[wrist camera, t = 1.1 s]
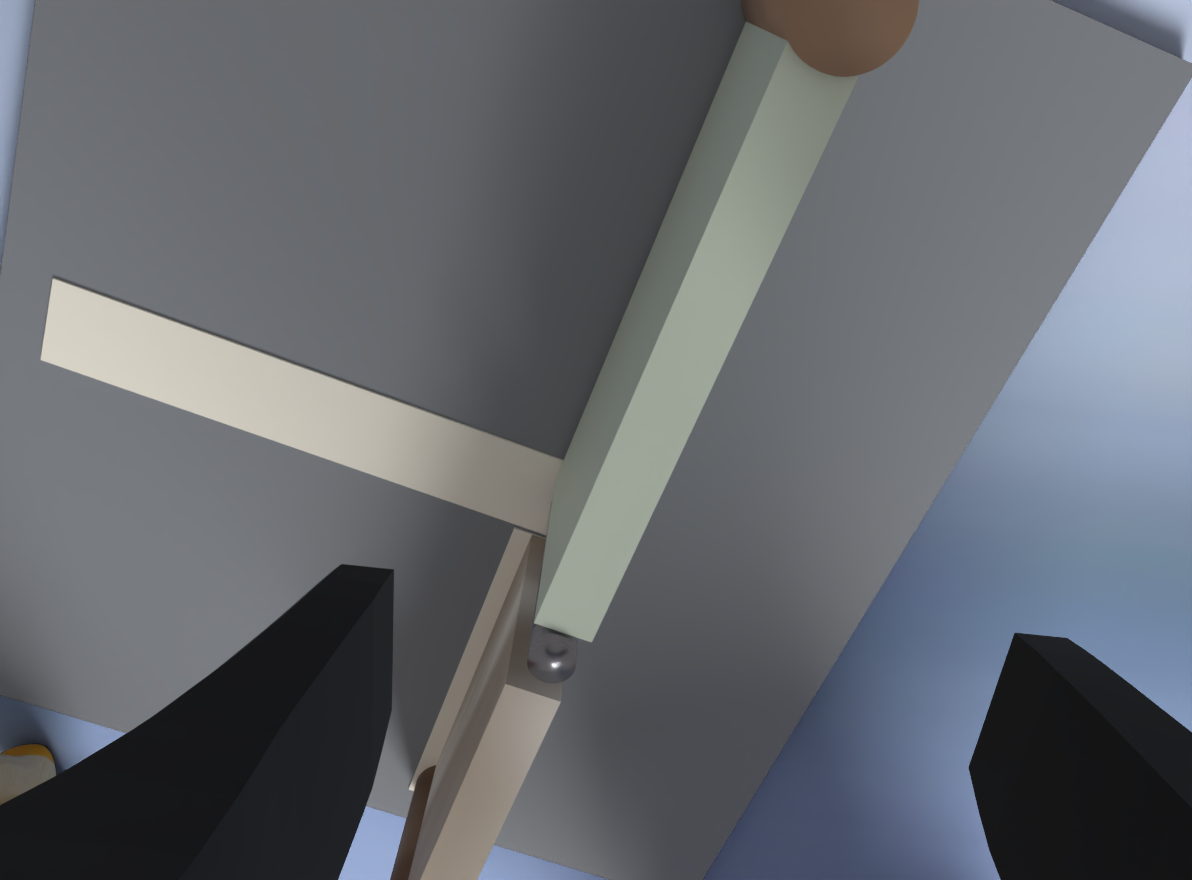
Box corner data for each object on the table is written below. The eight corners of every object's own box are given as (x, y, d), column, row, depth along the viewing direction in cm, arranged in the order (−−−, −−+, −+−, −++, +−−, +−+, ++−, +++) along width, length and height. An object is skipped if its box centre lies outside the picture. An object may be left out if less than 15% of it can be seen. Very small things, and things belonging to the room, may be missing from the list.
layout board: (1183, 63, 18) (1200, 66, 17) (686, 887, 27) (688, 905, 26) (106, -420, 15) (87, -432, 15) (-39, 665, 24) (-53, 681, 24)
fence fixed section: (588, 552, 22) (575, 723, 17) (469, 818, 25) (430, 1024, 20) (518, 528, 21) (485, 694, 17) (407, 800, 25) (353, 1003, 20)
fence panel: (598, 535, 21) (588, 696, 17) (527, 510, 21) (497, 667, 16) (854, -36, 16) (944, -38, 12) (765, -75, 16) (821, -93, 12)
